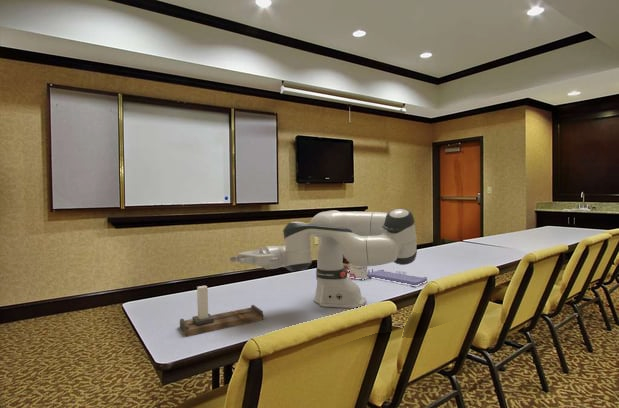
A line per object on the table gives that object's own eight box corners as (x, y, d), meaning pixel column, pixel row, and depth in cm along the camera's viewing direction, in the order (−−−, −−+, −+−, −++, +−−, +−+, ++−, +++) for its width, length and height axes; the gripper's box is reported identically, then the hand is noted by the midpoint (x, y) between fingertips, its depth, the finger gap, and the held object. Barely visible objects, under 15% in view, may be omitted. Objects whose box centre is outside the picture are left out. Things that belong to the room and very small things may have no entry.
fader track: (253, 311, 142) (252, 304, 142) (263, 319, 134) (263, 311, 134) (179, 326, 128) (179, 318, 127) (186, 336, 119) (186, 327, 119)
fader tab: (209, 316, 131) (208, 283, 131) (214, 321, 126) (213, 287, 125) (192, 320, 128) (191, 286, 127) (196, 325, 123) (195, 290, 122)
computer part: (378, 273, 205) (363, 278, 194) (378, 266, 204) (363, 271, 194) (428, 282, 184) (414, 288, 173) (428, 274, 184) (414, 280, 173)
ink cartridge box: (349, 278, 193) (348, 251, 192) (353, 276, 197) (352, 250, 197) (363, 280, 188) (363, 252, 188) (367, 278, 193) (367, 251, 192)
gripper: (282, 267, 129) (246, 271, 122) (258, 263, 146) (225, 266, 139) (281, 250, 130) (246, 252, 122) (257, 248, 147) (225, 250, 139)
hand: (235, 260), depth 131 cm, fingers open, 8 cm apart
